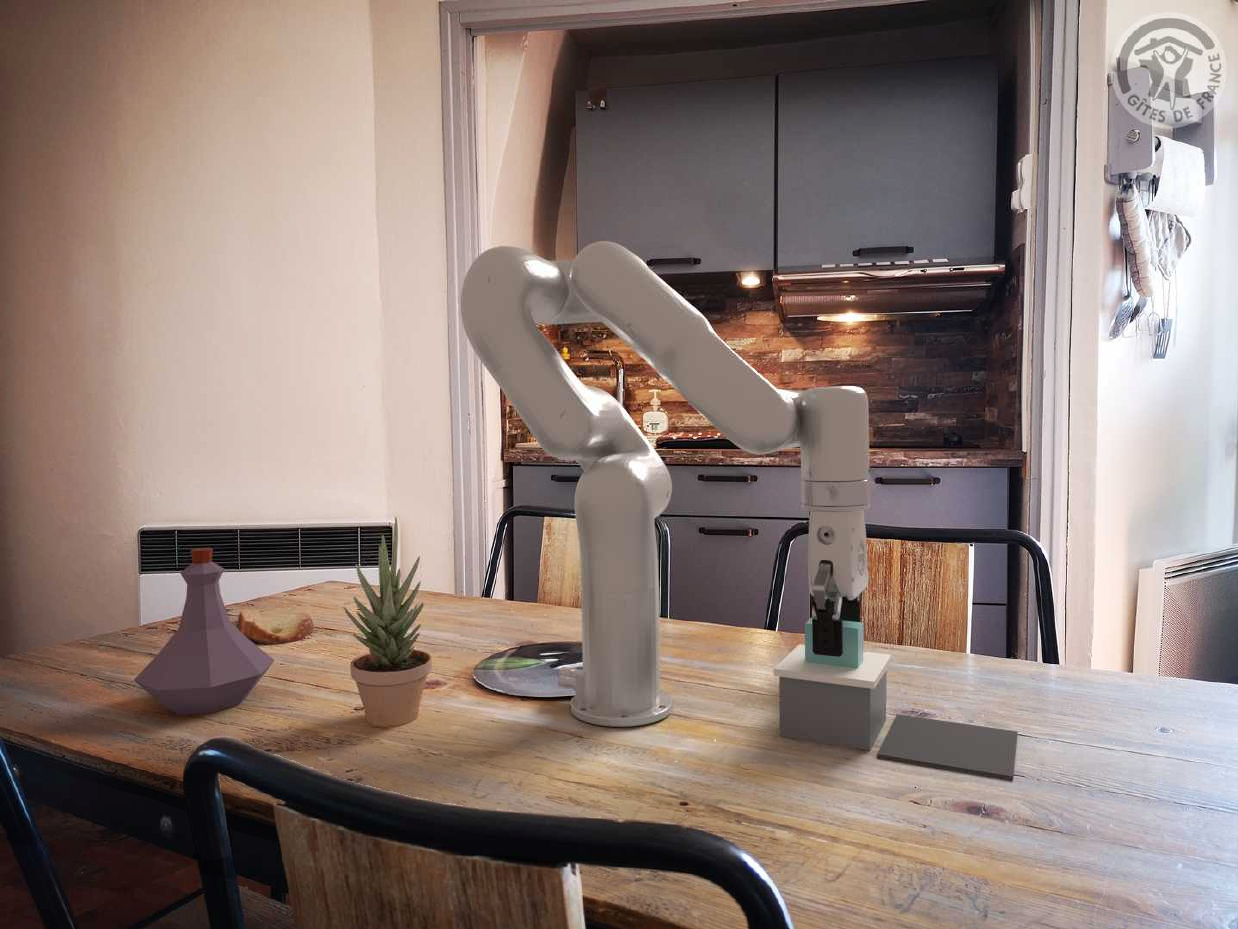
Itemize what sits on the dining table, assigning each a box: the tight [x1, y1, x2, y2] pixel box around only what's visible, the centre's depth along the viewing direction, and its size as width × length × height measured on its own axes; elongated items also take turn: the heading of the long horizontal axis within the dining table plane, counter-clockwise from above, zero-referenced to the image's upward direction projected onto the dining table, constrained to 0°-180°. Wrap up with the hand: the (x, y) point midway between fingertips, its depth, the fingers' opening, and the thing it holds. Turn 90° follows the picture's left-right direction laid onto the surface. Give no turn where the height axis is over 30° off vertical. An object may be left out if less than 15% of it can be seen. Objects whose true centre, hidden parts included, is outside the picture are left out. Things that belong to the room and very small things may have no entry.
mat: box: [876, 713, 1018, 781], centre depth 92 cm, size 13×13×1 cm
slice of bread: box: [237, 608, 315, 646], centre depth 146 cm, size 18×18×4 cm
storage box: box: [778, 670, 887, 752], centre depth 98 cm, size 10×10×7 cm
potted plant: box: [342, 516, 433, 728], centre depth 102 cm, size 10×10×25 cm
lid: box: [773, 617, 893, 689], centre depth 97 cm, size 11×11×6 cm
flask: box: [133, 547, 275, 716], centre depth 109 cm, size 16×16×20 cm
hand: (837, 643), depth 97 cm, fingers open, 9 cm apart
